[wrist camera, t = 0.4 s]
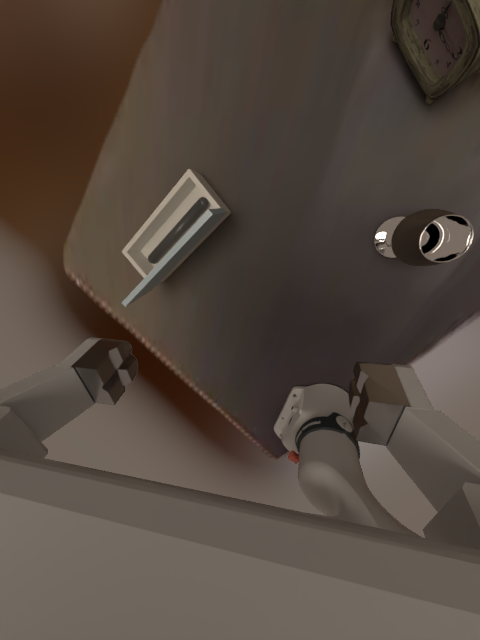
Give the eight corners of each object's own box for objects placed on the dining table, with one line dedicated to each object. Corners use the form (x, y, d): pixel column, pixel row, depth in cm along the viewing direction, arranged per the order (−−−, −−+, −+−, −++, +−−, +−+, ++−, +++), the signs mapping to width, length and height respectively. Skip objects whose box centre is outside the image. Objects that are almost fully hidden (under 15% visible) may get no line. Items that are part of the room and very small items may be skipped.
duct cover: (223, 208, 49) (227, 212, 49) (148, 286, 59) (151, 290, 59) (208, 209, 40) (212, 214, 40) (121, 302, 49) (125, 306, 50)
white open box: (231, 212, 55) (222, 210, 50) (164, 281, 65) (150, 285, 59) (201, 175, 54) (189, 168, 49) (137, 250, 64) (121, 251, 58)
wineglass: (375, 262, 51) (412, 278, 32) (370, 222, 49) (404, 216, 31) (421, 252, 48) (487, 263, 30) (417, 209, 46) (485, 193, 28)
